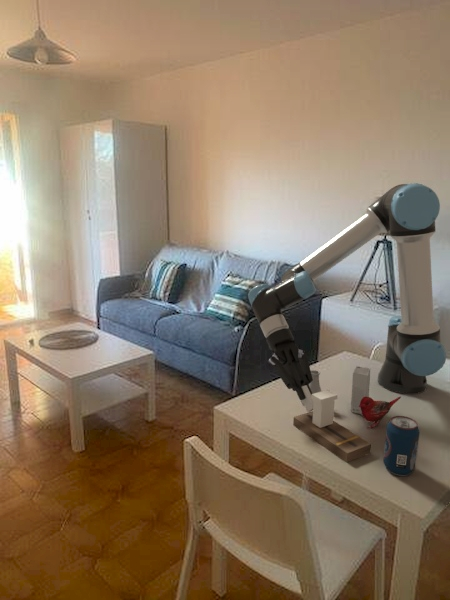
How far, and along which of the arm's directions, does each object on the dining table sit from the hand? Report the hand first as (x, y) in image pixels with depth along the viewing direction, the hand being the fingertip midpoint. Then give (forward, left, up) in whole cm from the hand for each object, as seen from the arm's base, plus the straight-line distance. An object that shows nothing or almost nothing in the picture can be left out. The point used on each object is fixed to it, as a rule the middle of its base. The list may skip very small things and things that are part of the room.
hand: (312, 409), depth 123 cm
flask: (-6, -13, -5) cm, 15 cm away
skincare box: (-18, -7, -5) cm, 20 cm away
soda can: (-13, +22, -5) cm, 26 cm away
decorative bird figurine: (-19, +2, -5) cm, 19 cm away
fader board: (-3, +7, -5) cm, 9 cm away
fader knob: (-2, +4, -2) cm, 5 cm away
